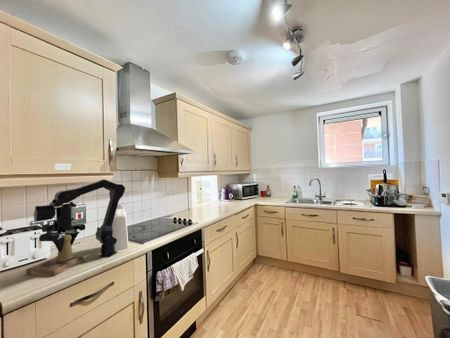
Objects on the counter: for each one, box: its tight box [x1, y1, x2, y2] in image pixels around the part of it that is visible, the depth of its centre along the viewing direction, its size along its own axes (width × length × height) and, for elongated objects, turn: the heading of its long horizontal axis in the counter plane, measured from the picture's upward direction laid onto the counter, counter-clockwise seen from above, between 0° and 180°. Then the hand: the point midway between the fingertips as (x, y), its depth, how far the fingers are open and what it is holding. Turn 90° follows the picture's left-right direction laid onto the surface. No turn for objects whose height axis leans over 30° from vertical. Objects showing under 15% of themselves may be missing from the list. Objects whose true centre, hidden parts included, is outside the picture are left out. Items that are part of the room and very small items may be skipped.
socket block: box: [25, 255, 84, 277], centre depth 97 cm, size 15×15×2 cm
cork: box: [56, 234, 74, 261], centre depth 95 cm, size 6×6×11 cm
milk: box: [112, 203, 129, 251], centre depth 122 cm, size 12×12×26 cm
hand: (64, 249), depth 95 cm, fingers closed on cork, 4 cm apart
